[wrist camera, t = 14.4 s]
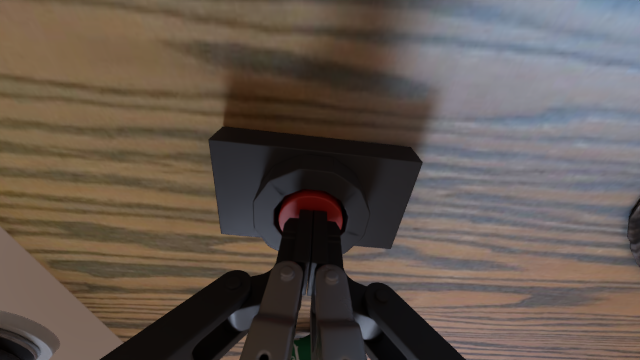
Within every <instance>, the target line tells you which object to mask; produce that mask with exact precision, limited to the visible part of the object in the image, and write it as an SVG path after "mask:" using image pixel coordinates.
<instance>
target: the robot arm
mask: <svg viewBox="0 0 640 360" xmlns="http://www.w3.org/2000/svg"><path fill="white" fill-rule="evenodd" d="M312 219H313V222H312ZM307 281H308V287H307ZM306 288H307V296H311V308H310V335H311V360H367V357H366V354H367V355H368V356H369V358H370V359H371V360H466V359H465V358H464V357H462V356H461V355H460V354H459V353H458V352H457V351H456V350H455V349H454V348H453V347H452V346H451V345H450V344H449V343H448V342H447V341H446V340H445V339H444V338H443V337H442V336H441V335H439V334H438V333H437V332H436V331H435V330H434V329H433V328H432V327H431V326H430V325H429V324H428V323H427V322H426V321H425V320H424V319H423V318H422V317H421V316H420V315H419V314H418V313H416V312H415V311H414V310H413V309H412V308H411V307H410V306H409V305H408V304H407V303H406V302H405V301H404V300H403V299H402V298H401V297H400V296H399V295H398V294H397V293H396V292H395V291H393V290H392V289H391V288H390V287H389V286H387V285H385V284H383V283H378V282H376V283H371V284H369V285H368V286H364V285H362V284H359V283H357V282H355V281H353V280H352V279H350V278H349V277H348V276H347V274H346V273H345V271H344V268H343V258H342V246H341V234H340V228H339V226H338V225H337V223H336V222H333V221H327V212H326V211H315V210H314V214H313V210H304V209H300V213H299V218H289V219H288V220H287V221H286V222H285V223H284V228H283V232H282V237H281V242H280V247H279V251H278V256H277V261H276V264H275V266H274V267H273V268H272V269H271V270H270V271H268V272H267V273H264V274H261V275H257V276H252V277H250V275H249V274H248V273H246V272H244V271H241V270H234V271H230V272H227V273H226V274H224V275H222V276H221V277H220V278H218V279H217V280H215V281H214V282H212V283H211V284H209V285H208V286H206V287H205V288H203V289H202V290H201V291H199V292H198V293H196V294H195V295H193V296H192V297H190V298H189V299H187V300H186V301H185V302H183V303H182V304H180V305H179V306H177V307H176V308H174V309H173V310H171V311H170V312H168V313H167V314H166V315H164V316H163V317H161V318H160V319H158V320H157V321H155V322H154V323H152V324H151V325H149V326H148V327H147V328H145V329H144V330H142V331H141V332H139V333H138V334H136V335H135V336H133V337H132V338H130V339H129V340H128V341H126V342H125V343H123V344H122V345H120V346H119V347H117V348H116V349H114V350H113V351H111V352H110V353H109V354H107V355H106V356H104V357H103V358H101V359H100V360H220V359H221V358H222V357H223V356H224V355H225V354H226V353H227V352H228V351H229V350H230V349H231V348H232V347H233V346H234V345H235V344H236V343H238V342H239V341H240V340H241V339H242V338H243V337H244V336H245V335H246V334H247V333H248V335H247V338H246V341H245V344H244V347H243V350H242V353H241V356H240V359H239V360H291V355H292V349H293V343H294V337H295V331H296V325H297V319H298V313H299V310H300V307H301V300H302V295H306ZM40 355H41V351H40V349H39V347H38V346H37V345H36V344H34V343H33V342H32V341H30V340H29V339H27V338H25V337H23V336H21V335H19V334H16V333H14V332H11V331H8V330H5V329H1V328H0V360H37V359H38V357H39V356H40Z"/></svg>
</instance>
